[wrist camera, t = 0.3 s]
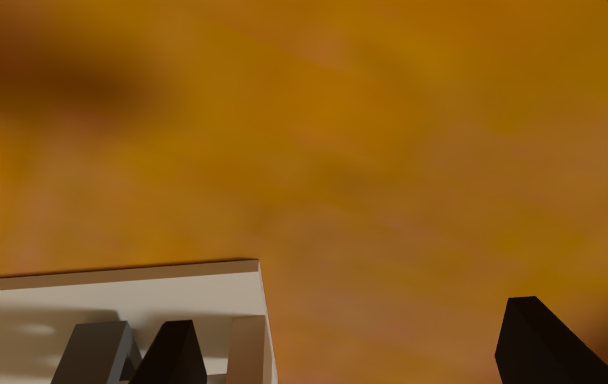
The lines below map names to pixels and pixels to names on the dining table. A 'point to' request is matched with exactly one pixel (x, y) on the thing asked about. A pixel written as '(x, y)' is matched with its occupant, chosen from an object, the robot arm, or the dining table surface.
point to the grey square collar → (99, 355)
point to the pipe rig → (140, 317)
